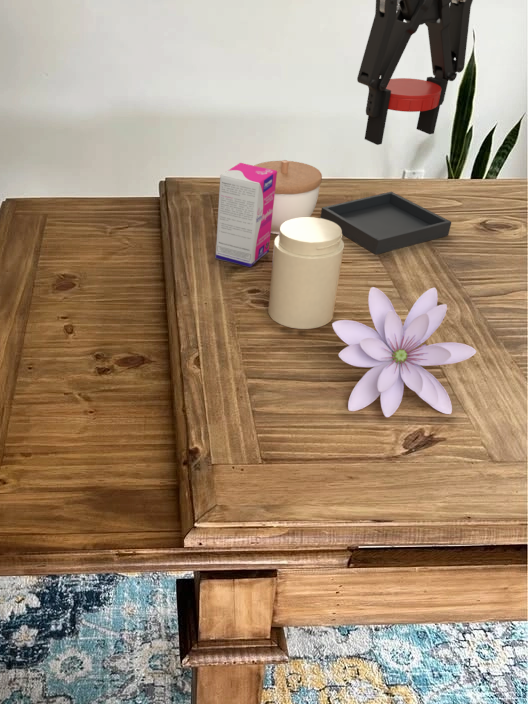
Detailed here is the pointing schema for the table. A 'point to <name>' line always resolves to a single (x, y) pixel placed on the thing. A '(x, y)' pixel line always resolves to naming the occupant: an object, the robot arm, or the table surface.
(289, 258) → the jam jar
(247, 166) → the supplement box
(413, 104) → the jam lid
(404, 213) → the tray
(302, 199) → the trinket box
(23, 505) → the table surface
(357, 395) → the water lily
